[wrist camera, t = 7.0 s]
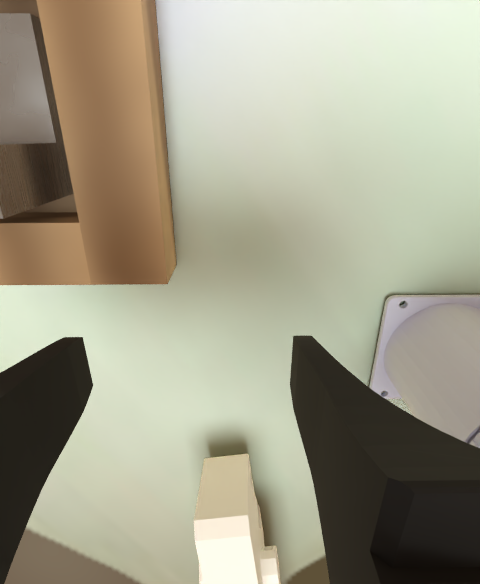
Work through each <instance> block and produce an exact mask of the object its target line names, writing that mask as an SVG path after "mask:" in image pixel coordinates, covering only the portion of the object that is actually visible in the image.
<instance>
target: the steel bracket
mask: <svg viewBox="0 0 480 584" xmlns="http://www.w3.org/2000/svg"><path fill="white" fill-rule="evenodd" d="M72 194H74V193H73V188H72V182H71V177H70V172H69V167H68V162H67V156H66V151H65V146H64V141H63V136H62V130H61V125H60V120H59V115H58V110H57V104H56V99H55V94H54V89H53V84H52V78H51V73H50V68H49V63H48V58H47V53H46V47H45V42H44V37H43V32H42V27H41V21H40V19H39V18H37V17H35V16H34V15H32V14H30V13H0V219H4V218H7V217H10V216H12V215H15V214H18V213H21V212H24V211H27V210H29V209H32V208H35V207H38V206H41V205H43V204H46V203H49V202H52V201H55V200H58V199H60V198H63V197H66V196H69V195H72Z"/></svg>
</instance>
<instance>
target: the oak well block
mask: <svg viewBox="0 0 480 584" xmlns="http://www.w3.org/2000/svg"><path fill="white" fill-rule="evenodd" d="M0 13H30V14H32V15H34V16H35V17H37V18H39V19H40V21H41V27H42V32H43V37H44V42H45V47H46V53H47V58H48V63H49V68H50V73H51V78H52V84H53V89H54V94H55V99H56V104H57V110H58V115H59V120H60V125H61V130H62V136H63V141H64V146H65V151H66V156H67V162H68V167H69V172H70V177H71V182H72V188H73V193H74V194H72V195H69V196H66V197H63V198H60V199H58V200H55V201H52V202H49V203H46V204H43V205H41V206H38V207H35V208H32V209H29V210H27V211H24V212H21V213H18V214H15V215H12V216H10V217H7V218H4V219H0V285H96V284H168V282H169V280H170V278H171V276H172V274H173V271H174V269H175V267H176V265H177V264H176V252H175V240H174V227H173V215H172V203H171V190H170V178H169V166H168V153H167V141H166V128H165V116H164V104H163V91H162V79H161V67H160V54H159V42H158V29H157V17H156V5H155V0H0Z"/></svg>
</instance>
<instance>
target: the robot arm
mask: <svg viewBox="0 0 480 584" xmlns="http://www.w3.org/2000/svg"><path fill="white" fill-rule="evenodd" d="M402 301H405V303H404V304H403V305H401V306H399V304H400V303H401V302H402ZM92 387H93V383H92V378H91V374H90V369H89V365H88V360H87V355H86V351H85V346H84V342H83V337H64V338H62V339H60V340H58V341H56V342H54V343H52V344H50V345H48V346H47V347H45V348H43V349H41V350H40V351H38V352H36V353H34V354H33V355H31V356H29V357H28V358H26V359H24V360H22V361H21V362H19V363H17V364H15V365H14V366H12V367H10V368H8V369H7V370H5V371H3V372H1V373H0V584H4V582H5V580H6V577H7V574H8V571H9V569H10V566H11V563H12V561H13V558H14V555H15V553H16V550H17V548H18V545H19V543H20V540H21V538H22V535H23V532H24V530H25V528H26V525H27V523H28V520H29V518H30V515H31V513H32V511H33V508H34V506H35V504H36V501H37V499H38V497H39V494H40V492H41V490H42V488H43V486H44V484H45V482H46V480H47V478H48V476H49V474H50V472H51V470H52V468H53V466H54V464H55V463H56V461H57V459H58V457H59V455H60V454H61V452H62V450H63V448H64V446H65V445H66V443H67V441H68V439H69V437H70V436H71V434H72V432H73V430H74V428H75V426H76V425H77V423H78V421H79V419H80V417H81V415H82V413H83V411H84V409H85V406H86V404H87V401H88V399H89V396H90V393H91V390H92ZM290 387H291V394H292V401H293V408H294V413H295V416H296V420H297V424H298V427H299V431H300V434H301V438H302V442H303V445H304V449H305V452H306V456H307V459H308V463H309V467H310V470H311V474H312V479H313V483H314V488H315V494H316V499H317V505H318V511H319V516H320V523H321V529H322V535H323V541H324V547H325V553H326V560H327V566H328V573H329V579H330V584H480V295H393V296H390V297H388V298H387V300H386V302H385V306H384V312H383V317H382V322H381V327H380V333H379V338H378V343H377V349H376V354H375V359H374V364H373V370H372V375H371V380H370V385H369V387H368V386H366V385H365V384H364V383H363V382H361V381H360V380H359V379H358V378H356V377H355V376H354V375H353V374H352V373H350V372H349V371H348V370H347V369H346V368H345V367H343V366H342V365H341V364H340V363H339V362H338V361H337V360H336V359H335V358H334V357H333V356H332V355H330V354H329V353H328V352H327V351H326V350H325V349H324V348H323V347H322V346H321V345H320V344H319V343H318V342H317V341H316V340H315V339H314V338H313V337H312V336H294V337H293V350H292V364H291V378H290ZM383 391H385V392H384V393H381V392H383ZM386 399H403V401H404V402H405V404H406V405H407V407H408V408H409V410H410V412H411V413H412V415H413V416H412V415H411V414H409V413H407V412H405V411H404V410H402V409H400V408H399V407H397V406H395V405H394V404H392V403H391V402H389V401H388V400H386Z"/></svg>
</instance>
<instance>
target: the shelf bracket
mask: <svg viewBox="0 0 480 584" xmlns="http://www.w3.org/2000/svg"><path fill="white" fill-rule="evenodd" d="M194 532H195V543H196V548H197V553H198V558H199V582H200V584H281V582H280V571H279V561H278V554H277V547H276V546H266V547H265V546H264V533H263V526H262V520H261V513H260V507H259V505H257V499H256V496H255V493H254V486H253V480H252V478H251V467H250V460H249V455H248V454H239V455H230V456H221V457H212V458H204V464H203V470H202V476H201V481H200V487H199V493H198V499H197V505H196V510H195V516H194Z"/></svg>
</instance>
